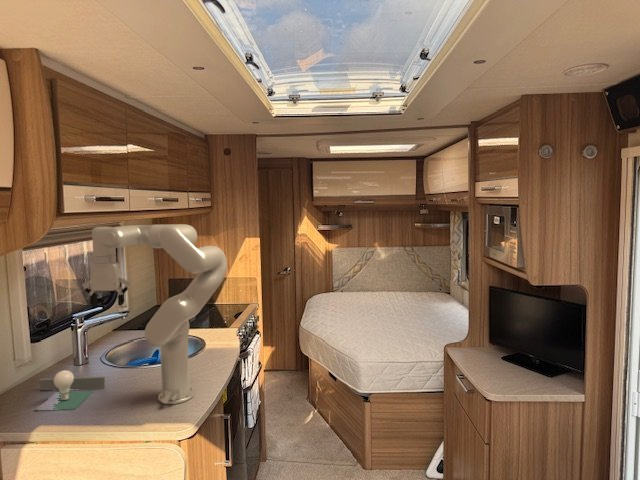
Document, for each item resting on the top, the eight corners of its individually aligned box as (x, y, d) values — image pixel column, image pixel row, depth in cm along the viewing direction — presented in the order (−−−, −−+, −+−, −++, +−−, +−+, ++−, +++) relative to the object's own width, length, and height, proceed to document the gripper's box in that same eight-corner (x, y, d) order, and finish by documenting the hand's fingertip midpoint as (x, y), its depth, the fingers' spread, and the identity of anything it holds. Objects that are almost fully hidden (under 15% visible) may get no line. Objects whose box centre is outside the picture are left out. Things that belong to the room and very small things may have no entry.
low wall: (104, 388, 166) (103, 377, 166) (40, 391, 165) (39, 380, 165) (105, 387, 168) (105, 376, 167) (42, 389, 166) (41, 378, 166)
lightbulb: (57, 398, 158) (54, 369, 157) (76, 394, 161) (74, 366, 160) (53, 405, 152) (51, 375, 151) (73, 402, 155) (71, 372, 154)
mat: (74, 409, 150) (74, 408, 150) (33, 411, 149) (33, 410, 149) (93, 391, 164) (93, 390, 164) (55, 393, 163) (55, 392, 163)
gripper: (76, 262, 156) (79, 308, 158) (124, 260, 157) (127, 306, 159) (86, 259, 164) (89, 303, 165) (132, 258, 165) (135, 301, 166)
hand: (108, 304), depth 162 cm, fingers open, 9 cm apart
